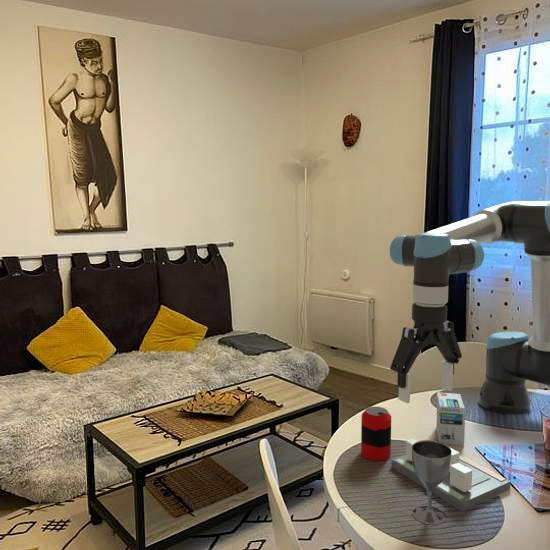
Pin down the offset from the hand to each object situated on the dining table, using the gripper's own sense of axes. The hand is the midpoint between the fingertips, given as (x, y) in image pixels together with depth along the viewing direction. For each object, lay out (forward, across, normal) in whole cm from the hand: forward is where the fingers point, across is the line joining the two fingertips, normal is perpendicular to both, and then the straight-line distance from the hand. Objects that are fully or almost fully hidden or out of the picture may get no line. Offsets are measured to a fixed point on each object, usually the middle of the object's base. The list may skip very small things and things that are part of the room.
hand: (425, 395), depth 125 cm
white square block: (+19, -8, +1) cm, 21 cm away
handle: (+19, -4, -6) cm, 21 cm away
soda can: (+22, -1, -17) cm, 28 cm away
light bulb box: (+22, -25, -14) cm, 36 cm away
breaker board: (+22, -8, +1) cm, 23 cm away
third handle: (+20, -4, +8) cm, 21 cm away
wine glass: (+22, +7, +9) cm, 25 cm away
